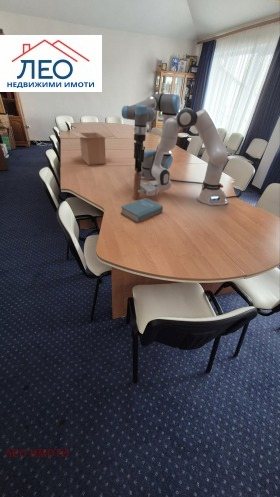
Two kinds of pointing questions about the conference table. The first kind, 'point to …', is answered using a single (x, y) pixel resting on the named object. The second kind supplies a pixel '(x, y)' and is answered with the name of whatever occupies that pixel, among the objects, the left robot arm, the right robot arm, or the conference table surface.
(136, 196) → the bottle
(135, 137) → the left robot arm
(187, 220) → the conference table surface
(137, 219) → the book
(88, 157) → the box
